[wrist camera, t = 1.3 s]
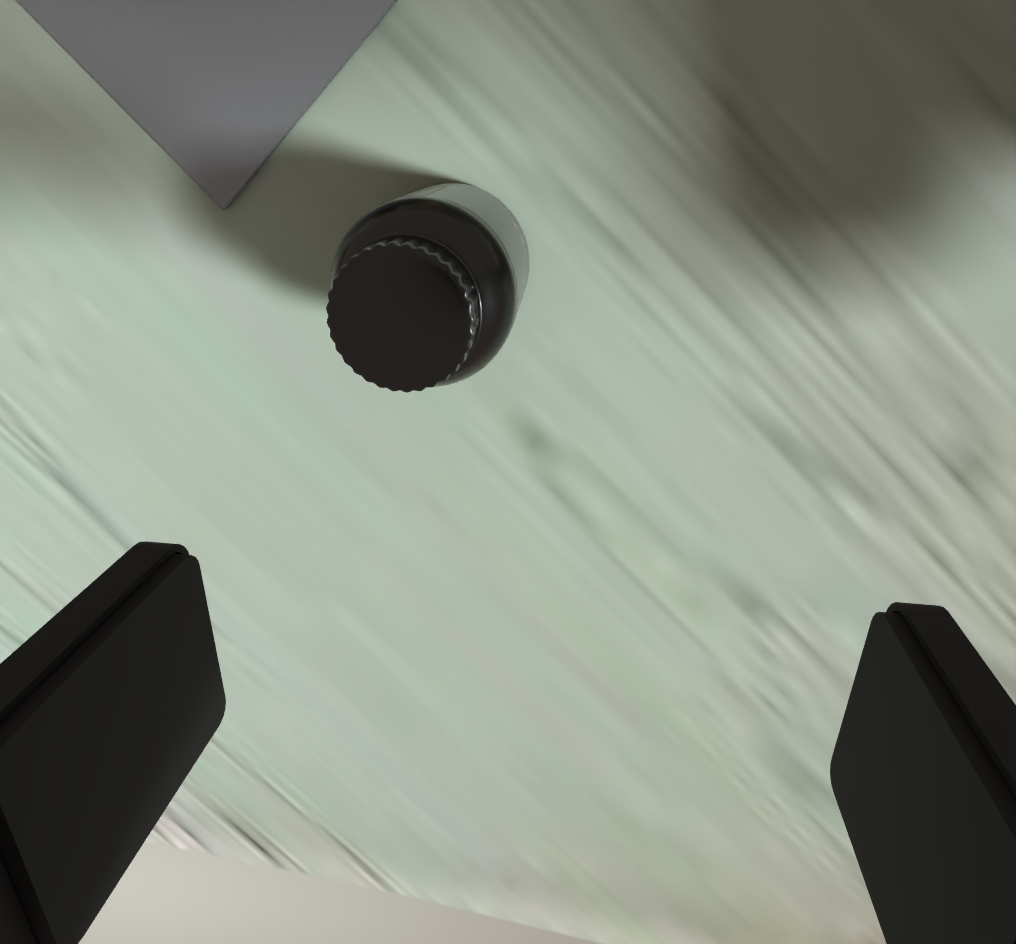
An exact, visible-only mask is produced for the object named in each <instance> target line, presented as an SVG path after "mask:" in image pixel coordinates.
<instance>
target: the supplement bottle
mask: <svg viewBox="0 0 1016 944" xmlns="http://www.w3.org/2000/svg"><path fill="white" fill-rule="evenodd" d="M528 273H529V253H528V247H527V243H526V239H525V236H524V233H523V231H522V229H521V227H520V224H519V223H518V221H517V219H516V218H515V216H514V215H513V214H512V212H511V211H510V210H509V209H508V208H507V207H506V205H504V204H503V203H502V202H501V201H500V200H499V199H497V198H496V197H495V196H493V195H492V194H490V193H488V192H487V191H484V190H482V189H480V188H477V187H474V186H471V185H467V184H460V183H444V184H438V185H433V186H429V187H426V188H423V189H420V190H417V191H415V192H412V193H409V194H406V195H404V196H401V197H398V198H395V199H393V200H390V201H388V202H385V203H383V204H381V205H379V206H377V207H375V208H374V209H372V210H370V211H369V212H368V213H366V214H365V215H364V216H362V217H361V218H360V219H359V220H358V221H357V222H356V223H355V224H354V225H353V226H352V227H351V228H350V229H349V231H348V232H347V234H346V235H345V237H344V238H343V240H342V242H341V244H340V245H339V248H338V250H337V252H336V255H335V258H334V262H333V266H332V271H331V280H330V291H329V293H328V298H329V303H328V304H327V307H326V310H327V313H328V319H327V324H328V326H329V328H330V337H331V338H332V340H333V341H334V342H335V345H336V350H337V351H338V352H339V353H340V354H341V355H342V357H343V360H344V362H345V363H346V364H348V365H349V366H351V367H352V369H353V371H354V372H355V373H356V374H359V375H361V376H362V377H363V378H364V379H365V380H366V381H368V382H373V383H375V384H376V385H377V386H378V387H381V388H388V389H390V390H392V391H398V390H401V391H403V392H410V391H412V390H415V391H422V390H424V389H425V388H426V387H436V386H444V385H449V384H453V383H456V382H459V381H461V380H464V379H466V378H468V377H470V376H472V375H474V374H475V373H477V372H478V371H480V370H481V369H482V368H484V367H485V366H486V365H487V364H488V363H489V362H490V361H491V360H492V359H493V358H494V357H495V356H496V355H497V353H498V352H499V350H500V349H501V348H502V346H503V344H504V343H505V341H506V339H507V337H508V335H509V333H510V331H511V328H512V326H513V323H514V320H515V317H516V314H517V311H518V308H519V305H520V302H521V300H522V297H523V294H524V291H525V287H526V283H527V279H528Z"/></svg>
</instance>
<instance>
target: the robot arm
mask: <svg viewBox="0 0 1016 944" xmlns="http://www.w3.org/2000/svg"><path fill="white" fill-rule="evenodd" d="M225 705H226V699H225V693H224V688H223V682H222V677H221V672H220V667H219V662H218V657H217V652H216V647H215V641H214V636H213V631H212V626H211V621H210V616H209V611H208V606H207V601H206V595H205V590H204V585H203V580H202V575H201V570H200V565H199V562H198V560H197V558H196V557H194V556H192V555H189V553H188V551H187V549H186V548H185V547H184V546H182V545H180V544H169V543H157V542H139V543H137V544H136V545H134V546H133V547H132V548H131V549H130V550H129V551H127V552H126V553H125V554H124V555H123V556H122V557H121V558H119V559H118V560H117V561H116V562H115V563H114V564H113V565H112V566H110V567H109V568H108V569H107V570H106V571H105V572H104V573H103V574H101V575H100V576H99V577H98V578H97V579H96V580H95V581H93V582H92V583H91V584H90V585H89V586H88V587H87V588H86V589H84V590H83V591H82V592H81V593H80V594H79V595H78V596H77V597H75V598H74V599H73V600H72V601H71V602H70V603H69V604H67V605H66V606H65V607H64V608H63V609H62V610H61V611H60V612H58V613H57V614H56V615H55V616H54V617H53V618H52V619H51V620H49V621H48V622H47V623H46V624H45V625H44V626H43V627H41V628H40V629H39V630H38V631H37V632H36V633H35V634H34V635H32V636H31V637H30V638H29V639H28V640H27V641H26V642H25V643H23V644H22V645H21V646H20V647H19V648H18V649H17V650H16V651H14V652H13V653H12V654H11V655H10V656H9V657H8V658H6V659H5V660H4V661H3V662H2V663H1V664H0V944H78V943H79V941H80V940H81V939H82V938H83V936H84V935H85V933H86V931H87V930H88V928H89V927H90V925H91V924H92V922H93V920H94V919H95V917H96V916H97V914H98V913H99V911H100V910H101V908H102V907H103V905H104V904H105V902H106V900H107V899H108V897H109V896H110V894H111V893H112V891H113V890H114V888H115V886H116V885H117V883H118V882H119V880H120V878H121V877H122V876H123V874H124V872H125V871H126V869H127V868H128V866H129V865H130V863H131V862H132V860H133V859H134V857H135V855H136V854H137V852H138V851H139V849H140V848H141V846H142V845H143V843H144V841H145V840H146V838H147V837H148V835H149V834H150V832H151V831H152V829H153V828H154V826H155V824H156V823H157V821H158V820H159V818H160V817H161V815H162V814H163V812H164V810H165V809H166V807H167V806H168V804H169V803H170V801H171V800H172V798H173V796H174V795H175V793H176V792H177V790H178V789H179V787H180V786H181V784H182V783H183V781H184V779H185V778H186V776H187V775H188V773H189V772H190V770H191V769H192V767H193V765H194V764H195V762H196V761H197V759H198V758H199V756H200V755H201V753H202V751H203V750H204V748H205V747H206V745H207V744H208V742H209V741H210V739H211V738H212V736H213V734H214V733H215V731H216V730H217V728H218V727H219V725H220V723H221V721H222V718H223V716H224V712H225ZM830 777H831V784H832V788H833V792H834V795H835V798H836V800H837V803H838V806H839V809H840V812H841V815H842V818H843V820H844V823H845V826H846V829H847V832H848V835H849V838H850V840H851V843H852V846H853V849H854V852H855V855H856V858H857V860H858V863H859V866H860V869H861V872H862V875H863V878H864V880H865V883H866V886H867V889H868V892H869V895H870V897H871V900H872V903H873V906H874V909H875V912H876V915H877V917H878V920H879V923H880V926H881V929H882V932H883V935H884V937H885V940H886V943H887V944H1016V705H1015V704H1014V702H1013V701H1012V699H1011V698H1010V697H1009V695H1008V694H1007V692H1006V691H1005V690H1004V688H1003V687H1002V686H1001V684H1000V683H999V681H998V680H997V679H996V677H995V676H994V674H993V673H992V672H991V670H990V669H989V667H988V666H987V665H986V663H985V662H984V661H983V659H982V658H981V656H980V655H979V654H978V652H977V651H976V649H975V648H974V647H973V645H972V644H971V643H970V641H969V640H968V638H967V637H966V636H965V634H964V633H963V631H962V630H961V629H960V627H959V626H958V624H957V623H956V622H955V620H954V619H953V618H952V616H951V615H950V613H949V612H948V611H947V610H946V609H945V608H944V607H941V606H936V605H924V604H911V603H899V602H895V603H893V604H891V605H890V606H889V607H888V609H887V611H886V612H878V613H876V614H875V615H874V616H873V618H872V621H871V624H870V628H869V631H868V634H867V638H866V641H865V645H864V648H863V652H862V655H861V659H860V662H859V666H858V669H857V673H856V676H855V680H854V683H853V686H852V690H851V693H850V697H849V700H848V704H847V707H846V711H845V714H844V718H843V721H842V725H841V728H840V732H839V735H838V738H837V742H836V745H835V749H834V752H833V756H832V760H831V766H830Z"/></svg>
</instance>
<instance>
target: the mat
mask: <svg viewBox="0 0 1016 944" xmlns="http://www.w3.org/2000/svg"><path fill="white" fill-rule="evenodd" d="M17 1H18V2H19V3H20V4H21V5H22V6H23V7H24V8H25V9H26V10H27V11H28V13H29V14H30V15H31V16H32V17H33V18H34V19H35V20H36V21H37V22H38V23H39V24H40V25H41V26H42V27H43V28H44V29H45V30H46V31H47V32H48V33H49V34H50V35H51V36H52V37H53V38H54V39H55V40H56V41H57V42H58V43H59V44H60V45H61V46H62V47H63V48H64V49H65V50H66V51H67V52H68V53H69V54H70V55H71V56H72V57H73V58H74V59H75V60H76V61H77V62H78V63H79V64H80V65H81V66H82V67H83V68H84V69H85V70H86V71H87V72H88V73H89V74H90V75H91V76H92V77H93V78H94V79H95V80H96V81H97V82H98V83H99V84H100V85H101V86H102V87H103V88H104V89H105V90H106V91H107V92H108V93H109V94H110V95H111V96H112V97H113V98H114V99H115V100H116V101H117V103H118V104H119V105H120V106H121V107H122V108H123V109H124V110H125V111H126V112H127V113H128V114H129V115H130V116H131V117H132V118H133V119H134V120H135V121H136V122H137V123H138V124H139V125H140V126H141V127H142V128H143V129H144V130H145V131H146V132H147V133H148V134H149V135H150V136H151V137H152V138H153V139H154V140H155V141H156V142H157V143H158V144H159V145H160V146H161V147H162V148H163V149H164V150H165V151H166V152H167V153H168V154H169V155H170V156H171V157H172V158H173V159H174V160H175V161H176V162H177V163H178V164H179V165H180V166H181V167H182V168H183V169H184V170H185V171H186V172H187V173H188V174H189V175H190V176H191V177H192V178H193V179H194V180H195V181H196V182H197V183H198V184H199V185H200V186H201V187H202V188H203V189H204V190H205V192H206V193H207V194H208V195H209V196H210V197H211V198H212V199H213V200H214V201H215V202H216V203H217V204H218V205H219V206H220V207H221V208H222V209H226V208H227V207H228V206H229V205H230V203H231V202H232V201H233V200H234V199H235V197H236V196H237V195H238V194H239V193H240V191H241V190H242V189H243V188H244V186H245V185H246V184H247V183H248V182H249V180H250V179H251V178H252V177H253V175H254V174H255V173H256V172H257V171H258V169H259V168H260V167H261V166H262V165H263V163H264V162H265V161H266V160H267V158H268V157H269V156H270V155H271V154H272V152H273V151H274V150H275V149H276V147H277V146H278V145H279V144H280V143H281V141H282V140H283V139H284V138H285V136H286V135H287V134H288V133H289V132H290V130H291V129H292V128H293V127H294V126H295V124H296V123H297V122H298V121H299V119H300V118H301V117H302V116H303V115H304V113H305V112H306V111H307V110H308V108H309V107H310V106H311V105H312V104H313V102H314V101H315V100H316V99H317V98H318V96H319V95H320V94H321V93H322V91H323V90H324V89H325V88H326V87H327V85H328V84H329V83H330V82H331V80H332V79H333V78H334V77H335V76H336V74H337V73H338V72H339V71H340V69H341V68H342V67H343V66H344V65H345V63H346V62H347V61H348V60H349V59H350V57H351V56H352V55H353V54H354V52H355V51H356V50H357V49H358V48H359V46H360V45H361V44H362V43H363V41H364V40H365V39H366V38H367V37H368V35H369V34H370V33H371V32H372V31H373V29H374V28H375V27H376V26H377V24H378V23H379V22H380V21H381V20H382V18H383V17H384V16H385V15H386V13H387V12H388V11H389V10H390V9H391V7H392V6H393V5H394V4H395V2H396V1H397V0H17Z"/></svg>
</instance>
